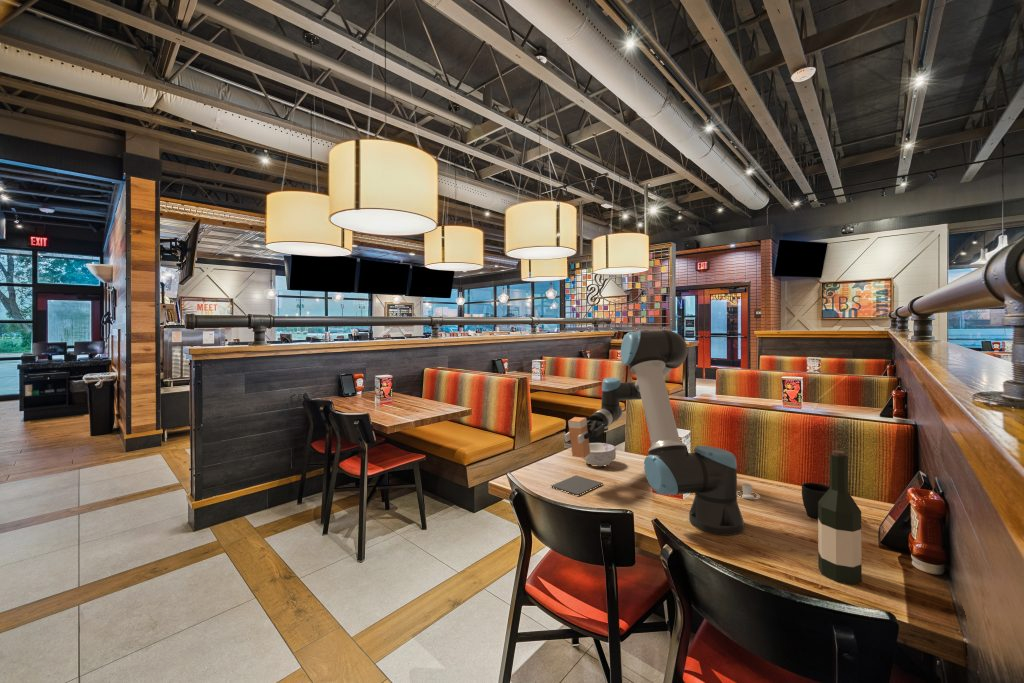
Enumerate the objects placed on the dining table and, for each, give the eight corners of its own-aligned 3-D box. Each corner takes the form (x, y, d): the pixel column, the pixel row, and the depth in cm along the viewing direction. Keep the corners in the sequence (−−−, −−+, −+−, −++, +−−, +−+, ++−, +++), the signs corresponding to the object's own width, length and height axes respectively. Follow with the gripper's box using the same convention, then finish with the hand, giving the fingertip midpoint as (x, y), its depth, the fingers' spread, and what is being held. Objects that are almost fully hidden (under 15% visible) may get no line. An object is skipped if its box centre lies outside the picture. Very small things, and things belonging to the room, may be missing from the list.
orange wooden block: (590, 453, 162) (586, 417, 161) (584, 457, 158) (579, 421, 157) (578, 451, 165) (574, 416, 164) (572, 456, 161) (568, 420, 160)
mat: (602, 484, 165) (602, 482, 165) (578, 496, 153) (578, 494, 153) (576, 477, 174) (576, 475, 174) (550, 487, 163) (550, 485, 163)
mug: (841, 530, 124) (841, 498, 124) (796, 515, 134) (796, 485, 134) (853, 523, 128) (853, 492, 128) (809, 509, 139) (809, 480, 138)
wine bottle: (858, 589, 96) (858, 459, 95) (814, 574, 102) (814, 452, 101) (864, 574, 102) (863, 451, 101) (821, 561, 108) (821, 445, 107)
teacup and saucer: (752, 503, 145) (752, 491, 145) (729, 496, 152) (729, 485, 152) (764, 496, 151) (764, 485, 151) (741, 490, 157) (741, 479, 157)
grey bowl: (575, 461, 194) (574, 444, 194) (602, 457, 200) (602, 440, 200) (594, 471, 180) (593, 453, 180) (623, 466, 186) (622, 448, 186)
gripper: (621, 431, 169) (595, 451, 151) (581, 427, 181) (552, 446, 162) (619, 413, 169) (592, 431, 151) (579, 410, 180) (550, 427, 162)
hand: (572, 439), depth 157 cm, fingers closed on orange wooden block, 5 cm apart
